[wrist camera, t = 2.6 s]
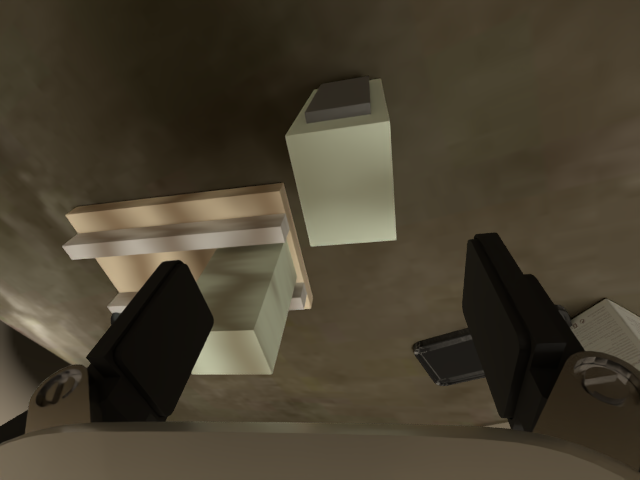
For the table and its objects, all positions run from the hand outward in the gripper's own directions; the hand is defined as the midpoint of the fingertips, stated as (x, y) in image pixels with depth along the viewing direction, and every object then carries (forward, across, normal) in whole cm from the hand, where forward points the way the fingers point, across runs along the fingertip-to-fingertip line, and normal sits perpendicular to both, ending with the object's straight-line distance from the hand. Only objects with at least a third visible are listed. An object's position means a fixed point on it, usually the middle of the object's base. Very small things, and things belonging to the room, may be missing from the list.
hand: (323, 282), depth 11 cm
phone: (+17, -13, +24) cm, 32 cm away
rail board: (+16, +15, +10) cm, 24 cm away
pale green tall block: (+16, -1, 0) cm, 16 cm away
